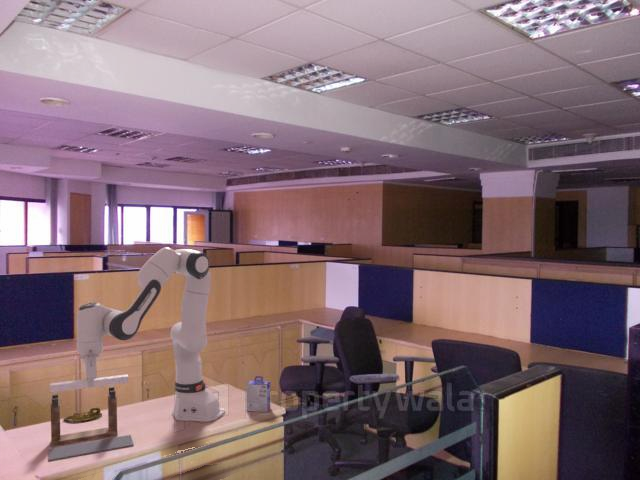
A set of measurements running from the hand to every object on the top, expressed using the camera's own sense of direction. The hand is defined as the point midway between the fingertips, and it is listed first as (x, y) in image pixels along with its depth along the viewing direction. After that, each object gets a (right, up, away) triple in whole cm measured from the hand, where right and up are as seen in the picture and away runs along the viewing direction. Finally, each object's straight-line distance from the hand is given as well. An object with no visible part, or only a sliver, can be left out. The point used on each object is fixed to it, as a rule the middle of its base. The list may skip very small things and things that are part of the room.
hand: (90, 385), depth 190 cm
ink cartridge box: (+57, -22, +39) cm, 73 cm away
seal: (-16, -23, +30) cm, 41 cm away
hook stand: (-6, -23, +10) cm, 26 cm away
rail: (0, -1, 0) cm, 1 cm away
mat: (0, -23, +1) cm, 23 cm away
